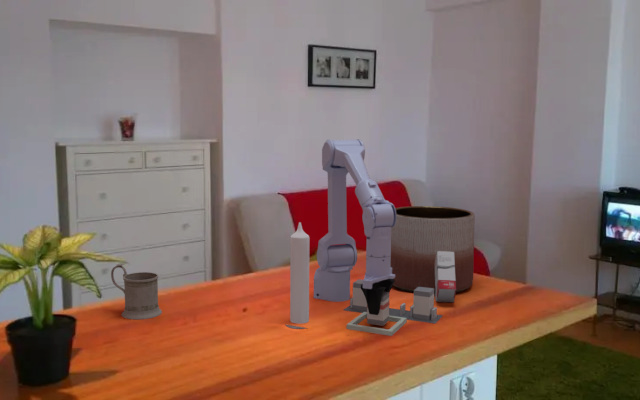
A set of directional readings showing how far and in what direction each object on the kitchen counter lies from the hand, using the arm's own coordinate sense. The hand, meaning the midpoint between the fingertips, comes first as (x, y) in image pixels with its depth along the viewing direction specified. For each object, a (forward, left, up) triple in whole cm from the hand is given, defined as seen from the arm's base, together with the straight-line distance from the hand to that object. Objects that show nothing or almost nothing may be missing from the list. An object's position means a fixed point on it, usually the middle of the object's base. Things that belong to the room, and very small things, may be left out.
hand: (377, 311), depth 155 cm
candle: (-18, -5, -5) cm, 19 cm away
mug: (-60, -15, -5) cm, 62 cm away
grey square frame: (0, 0, -4) cm, 4 cm away
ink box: (+10, +24, -2) cm, 26 cm away
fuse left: (-8, +11, -3) cm, 14 cm away
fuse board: (0, +11, -4) cm, 12 cm away
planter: (0, +46, -5) cm, 46 cm away
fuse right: (+8, +11, -3) cm, 14 cm away
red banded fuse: (0, 0, -3) cm, 3 cm away
